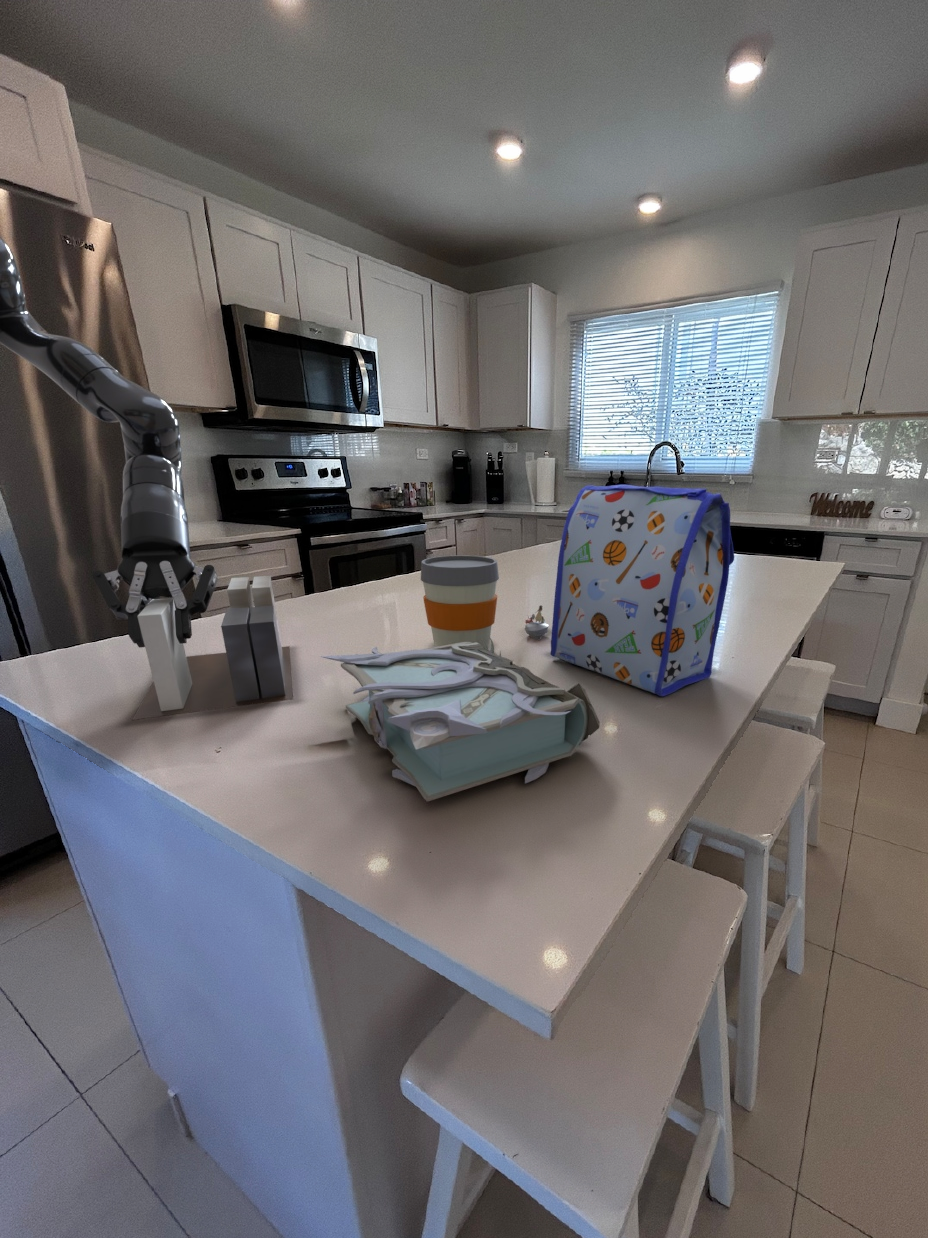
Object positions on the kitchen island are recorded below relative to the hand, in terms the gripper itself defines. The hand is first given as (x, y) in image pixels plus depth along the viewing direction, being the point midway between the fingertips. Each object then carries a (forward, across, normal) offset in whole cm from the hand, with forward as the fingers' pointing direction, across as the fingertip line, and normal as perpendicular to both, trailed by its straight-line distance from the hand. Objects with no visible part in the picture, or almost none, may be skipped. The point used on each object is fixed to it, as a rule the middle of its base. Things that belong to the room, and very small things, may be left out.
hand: (160, 641), depth 69 cm
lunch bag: (+11, -63, -2) cm, 64 cm away
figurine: (-3, -56, -16) cm, 58 cm away
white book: (+4, 0, -7) cm, 8 cm away
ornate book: (+20, -31, +7) cm, 38 cm away
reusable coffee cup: (-1, -41, -14) cm, 43 cm away
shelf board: (+1, -5, -12) cm, 13 cm away
